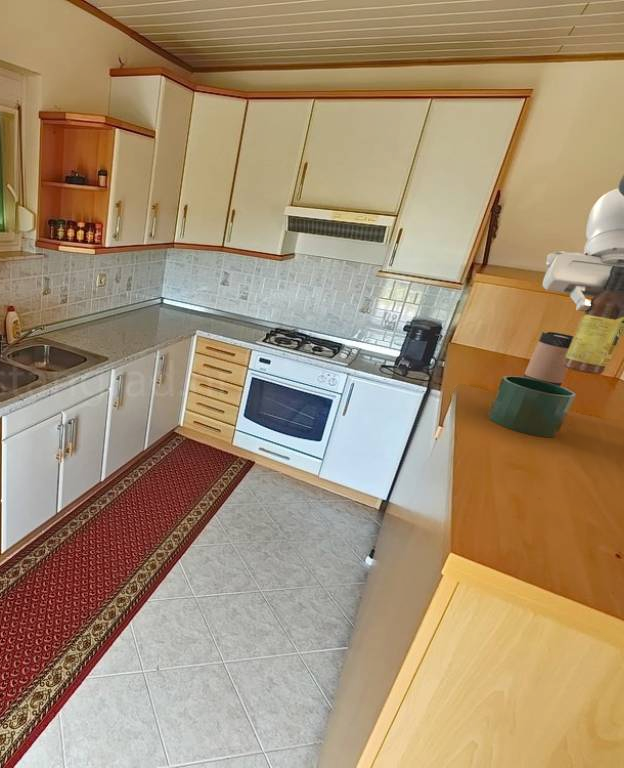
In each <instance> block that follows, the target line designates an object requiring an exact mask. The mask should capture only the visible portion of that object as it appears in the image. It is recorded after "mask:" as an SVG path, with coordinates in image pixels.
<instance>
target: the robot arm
mask: <svg viewBox="0 0 624 768" xmlns="http://www.w3.org/2000/svg"><path fill="white" fill-rule="evenodd" d="M618 183H619V184H618V187H617V188H614V189H612V190H609V191H608V192H606V193H604V194H603V195H602V196H601V197H599V198H598V199H597V201H596V202H595V203H594V204H593V206H592V208H591V209H590V212H589V216H588V218H587V222H586V223H587V224H586V229H585V230H586V231H585V237H586V243H585V244H584V248H583V252H576V251H566V250H557V251H554V252H550V253H549V254H547V256H546V260H545V265H546V266H547V267H548V268H547V270H546V272H545V274H544V277H543V280H542V284H541V285H542V287H543V288H544V289H545V290H546V291H548V292H555V293H561V294H569V297H570V299H571V300H572V301H573V302H574V304H576V307H575V310H576V311H578V312H584V313H585V312H587V311H588V309H590V307H591V304H590V303H591V300H592V299H589V298H586V297H590V298H591V297H592V298H594V297H595V296H597V295H598V294H599V293H601V292H602V291H603V290H604V286H605V285H606V283H607V281H608V278H609V276H610V271H611V268H612V266H614V265H617V266H624V174H623V175H622V177H621V179H620V181H619V182H618Z"/></svg>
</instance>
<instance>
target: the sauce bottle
mask: <svg viewBox="0 0 624 768" xmlns="http://www.w3.org/2000/svg"><path fill="white" fill-rule="evenodd" d="M590 300H591V303H590V304H591V307H590V309H588V311H587V312H584V314H582V316H581V319H580V321H579V323H578V326H577V328H576V330H575V332H574V335H573V336H574V337H573V339H572V342H571V344H570V346H569V349H568V351H567V353H566V356H565V361H564V363H563V365H564V366H565V367H567V368H568V370H569V369H570V370H572V371H576V372H582V373H586V374H590V375H602V374H603V373H604V372H605V369H606V367H608V365H609V364H610V361H611V359H612V358H613V356H614V353H615V351H616V348H617V346H618V344H619V342H620V340H621V338H622V336H623V334H624V266H617V265H614V266H612V268H611V271H610V276H609V278H608V281H607V283H606V285H605V286H604V290H603V291H602V292H601V293H599V294H598V295H597V296H595V297H592V298H591V299H590Z"/></svg>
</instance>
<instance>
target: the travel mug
mask: <svg viewBox="0 0 624 768" xmlns="http://www.w3.org/2000/svg"><path fill="white" fill-rule="evenodd" d="M573 337H574V335H569V334H565V333H561V332H560V333H559V332H554V331H547V332H543V331H542V332H541V335H540V338H539V340H538V342H537V343H536V346H535V349H534V351H533V353H532V355H531V358H530V360H529V362H528V365H527V367H526V369H525V372H524V374H523V376H522V377H525V378H530V379H535V380H539V381H543V382H547V383H551V384H554V385H557V386H560V387H562V383H563V382H564V380H565V377H566V376H567V373H568V370H569V368H567V367H565V366H564V365H563V363H564V361H565V356H566V353H567V351H568V349H569V346H570V344H571V342H572V339H573Z"/></svg>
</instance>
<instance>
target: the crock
mask: <svg viewBox="0 0 624 768" xmlns="http://www.w3.org/2000/svg"><path fill="white" fill-rule="evenodd" d="M576 396H577V394H576V393H575V392H574V391H572V390H570V389H568V388H565V387H564V386H557V385H554V384H551V383H547V382H543V381H539V380H535V379H530V378H525V377H523V376H518V375H505V376H504V375H503V377H502V378H501V381H500V383H499V386H498V388H497V390H496V393H495V396H494V398H493V400H492V403H491V405H490V408H489V410H488V414H487V418H488V419H489V420H490V421H492V422H494V423H496V424H497V425H499V426H502V427H504V428H507V429H509V430H512V431H515V432H518V431H519V433H522V434H526V435H530V436H535V437H540V438H556V437H557V436H558V435H559V432H560V429H561V428H562V425H563V424H564V421H565V419H566V417H567V415H568V412H569V411H570V408H571V406H572V404H573V402H574V400H575V398H576Z"/></svg>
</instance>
